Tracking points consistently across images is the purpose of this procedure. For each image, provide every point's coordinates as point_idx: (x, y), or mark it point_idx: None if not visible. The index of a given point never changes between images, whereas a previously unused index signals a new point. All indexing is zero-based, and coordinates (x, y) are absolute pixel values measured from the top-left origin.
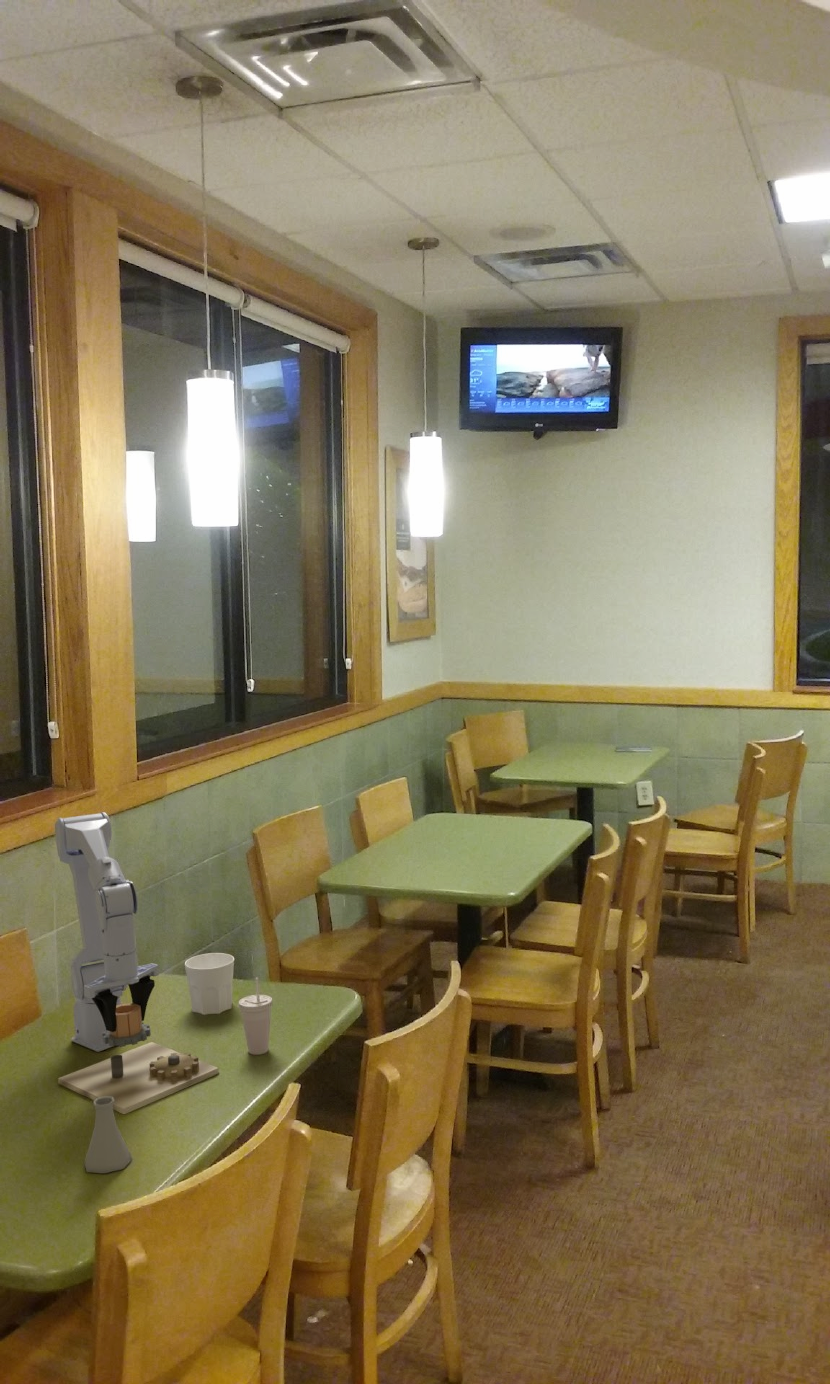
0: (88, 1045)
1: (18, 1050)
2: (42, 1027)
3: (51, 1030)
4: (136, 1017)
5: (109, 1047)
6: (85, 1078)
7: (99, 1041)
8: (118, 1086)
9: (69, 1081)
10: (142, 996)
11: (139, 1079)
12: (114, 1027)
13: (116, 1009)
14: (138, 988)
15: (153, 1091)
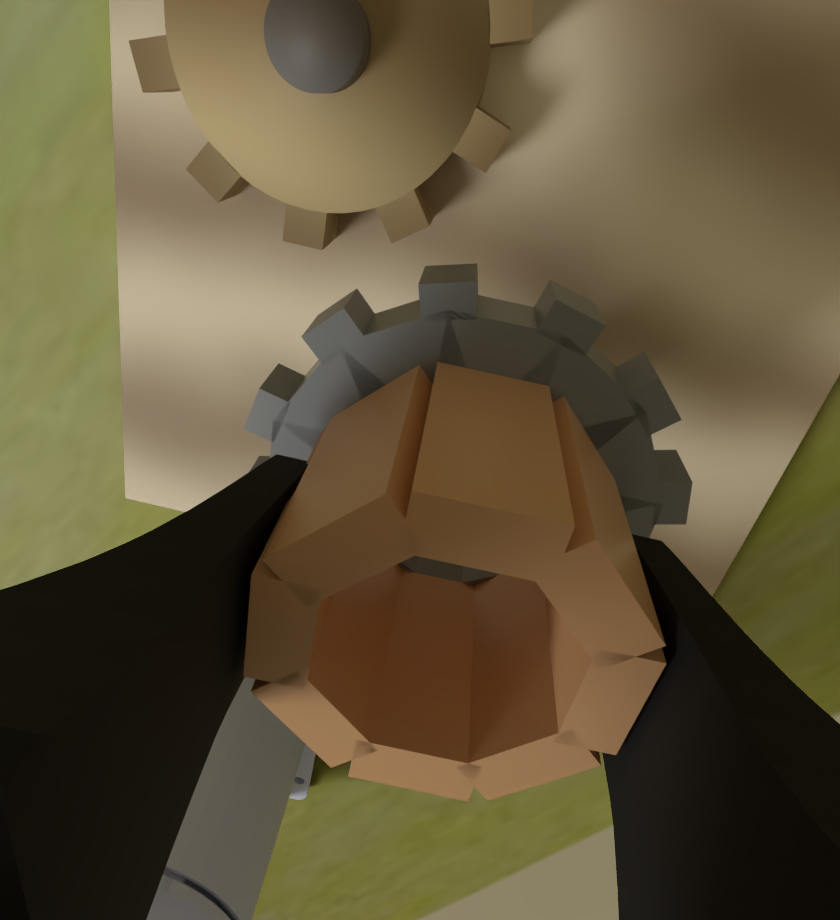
0: None
1: (459, 880)
2: (274, 906)
3: (274, 877)
4: (449, 453)
5: None
6: None
7: None
8: (709, 256)
9: (715, 564)
10: (172, 640)
11: (564, 196)
12: (665, 558)
13: (449, 744)
14: (113, 824)
15: None
